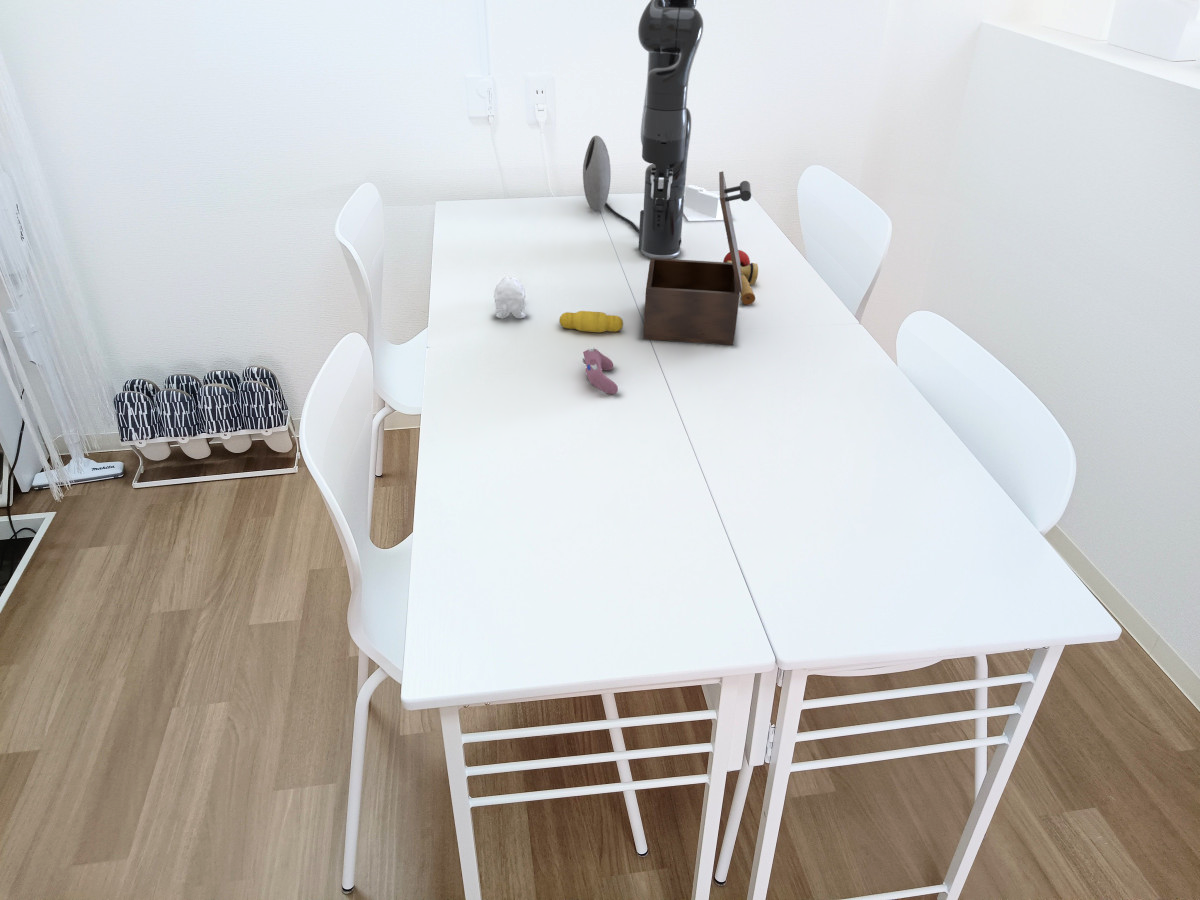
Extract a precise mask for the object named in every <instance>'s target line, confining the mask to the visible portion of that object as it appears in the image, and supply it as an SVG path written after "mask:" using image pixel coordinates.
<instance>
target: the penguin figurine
mask: <svg viewBox="0 0 1200 900" xmlns="http://www.w3.org/2000/svg"><path fill="white" fill-rule="evenodd" d="M493 298H494V304H495V306H494V307H495V310H496V311H498V312H496V315H495V317H496V318H498V319H506V318H507V317H508V316H510V314H512V316H513V318H516V319H525V317H526V314H525V313H524V312H523V311H522V310H524V311H525V310H527V309H526V308H527V307H526V300H525V299H526V290H525V287H524V285H523V284H522V283H521V282H520V281H519V279H517V278H516V277H515V276H511V277H509V276H505V277H504V278H502V279H501V280H500V281H499V282H498V283H497V284H496V285H495V287H494V292H493Z"/></svg>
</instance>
